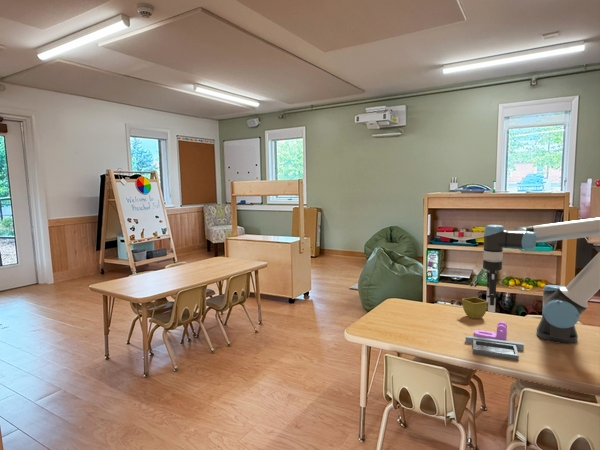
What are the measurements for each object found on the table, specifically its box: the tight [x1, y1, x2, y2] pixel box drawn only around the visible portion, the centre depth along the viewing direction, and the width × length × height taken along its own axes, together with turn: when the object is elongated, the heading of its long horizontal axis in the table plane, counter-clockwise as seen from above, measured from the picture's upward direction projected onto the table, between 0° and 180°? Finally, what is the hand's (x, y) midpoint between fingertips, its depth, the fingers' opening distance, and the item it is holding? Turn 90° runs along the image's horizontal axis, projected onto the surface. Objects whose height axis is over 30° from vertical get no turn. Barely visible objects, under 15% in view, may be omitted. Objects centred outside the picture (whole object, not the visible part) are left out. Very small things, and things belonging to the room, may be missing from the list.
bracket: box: [473, 321, 508, 341], centre depth 171 cm, size 13×6×7 cm, turn 59°
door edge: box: [465, 335, 525, 351], centre depth 162 cm, size 22×2×2 cm, turn 66°
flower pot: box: [461, 296, 488, 320], centre depth 194 cm, size 9×9×9 cm
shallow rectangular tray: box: [472, 340, 520, 362], centre depth 156 cm, size 16×10×2 cm, turn 67°
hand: (490, 307), depth 170 cm, fingers open, 13 cm apart
